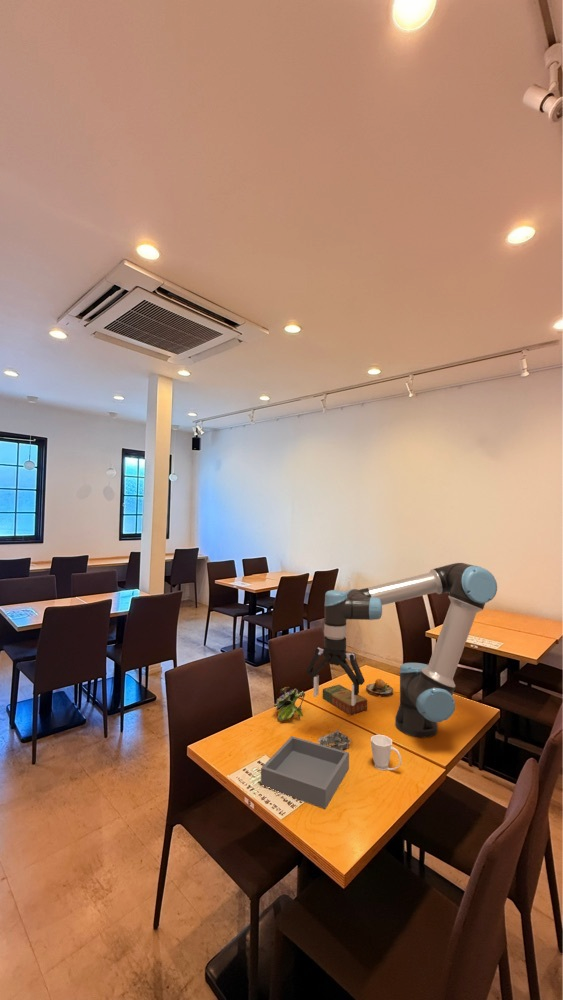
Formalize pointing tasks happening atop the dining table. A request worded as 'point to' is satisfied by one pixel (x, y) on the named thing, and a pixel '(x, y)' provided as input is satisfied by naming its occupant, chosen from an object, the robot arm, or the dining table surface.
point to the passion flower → (288, 703)
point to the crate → (306, 771)
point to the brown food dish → (380, 689)
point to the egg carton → (338, 738)
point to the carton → (344, 700)
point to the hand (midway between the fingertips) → (334, 699)
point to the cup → (382, 752)
